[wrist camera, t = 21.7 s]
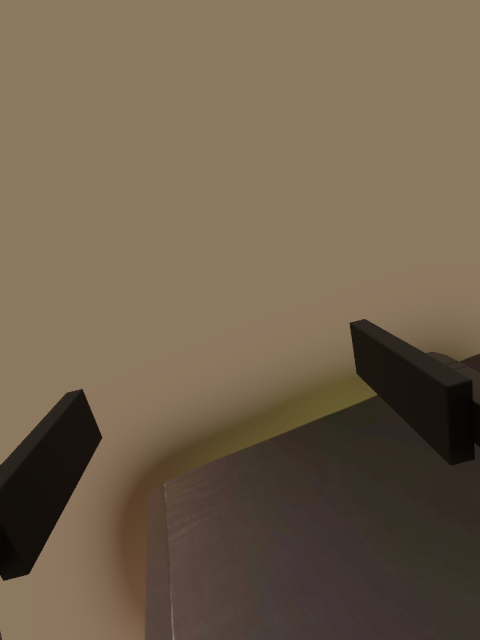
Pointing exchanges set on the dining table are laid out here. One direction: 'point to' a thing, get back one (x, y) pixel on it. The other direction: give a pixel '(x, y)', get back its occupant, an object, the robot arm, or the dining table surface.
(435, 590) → the dining table surface
